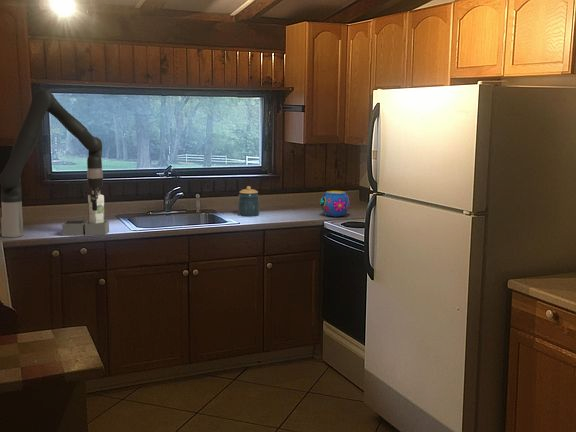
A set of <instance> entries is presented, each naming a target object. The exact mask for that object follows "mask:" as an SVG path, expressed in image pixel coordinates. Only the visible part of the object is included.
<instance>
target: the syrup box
mask: <svg viewBox="0 0 576 432" xmlns="http://www.w3.org/2000/svg"><path fill="white" fill-rule="evenodd" d="M96 197H97V196H96ZM93 200H95V198H94V199H93ZM87 204H88V205H87V207H88V208H87V209H88V221H89V223H91V224H100V223H104V220H105V195H104V194H102V193H101V194H99V196H98V199H97V210H96V211H93V210H92V202H91V194H88V195H87Z"/></svg>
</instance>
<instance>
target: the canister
mask: <svg viewBox="0 0 576 432" xmlns="http://www.w3.org/2000/svg"><path fill="white" fill-rule="evenodd" d="M251 188H252V187H251V186H250V185H247V186H246V188H245V189H244V188H243V189H241V190H240V191H239V194H238V196H237V197H238V201H237V203H238V204H237V205H238V206H237V208H238V209H237V210H238V211H237V214H238V216H240V217H257V216H259V214H260V200H259V197H260V194H258V193H259V191H258V190H256V189H251Z"/></svg>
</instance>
